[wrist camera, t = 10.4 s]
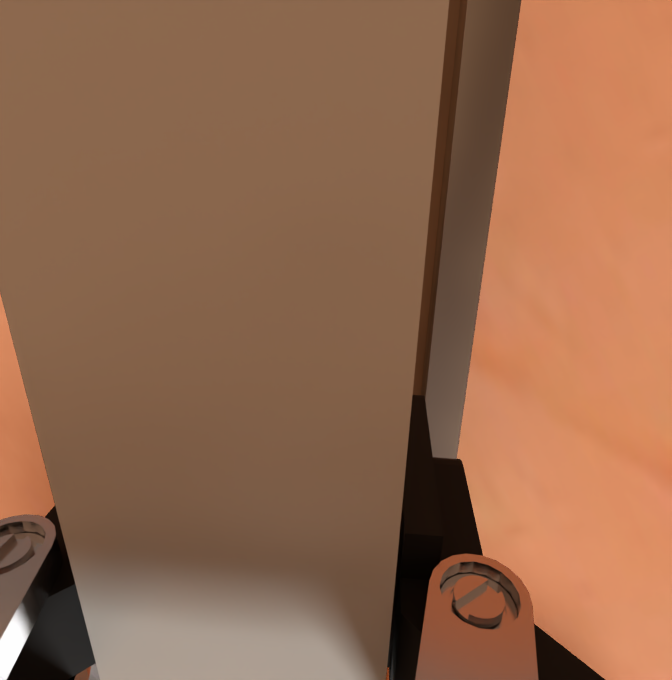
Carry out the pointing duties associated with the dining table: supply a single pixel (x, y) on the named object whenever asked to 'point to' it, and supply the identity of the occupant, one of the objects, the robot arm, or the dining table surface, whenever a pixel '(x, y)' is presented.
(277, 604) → the beige rectangular block
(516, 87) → the dining table surface
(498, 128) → the brown long channel piece
